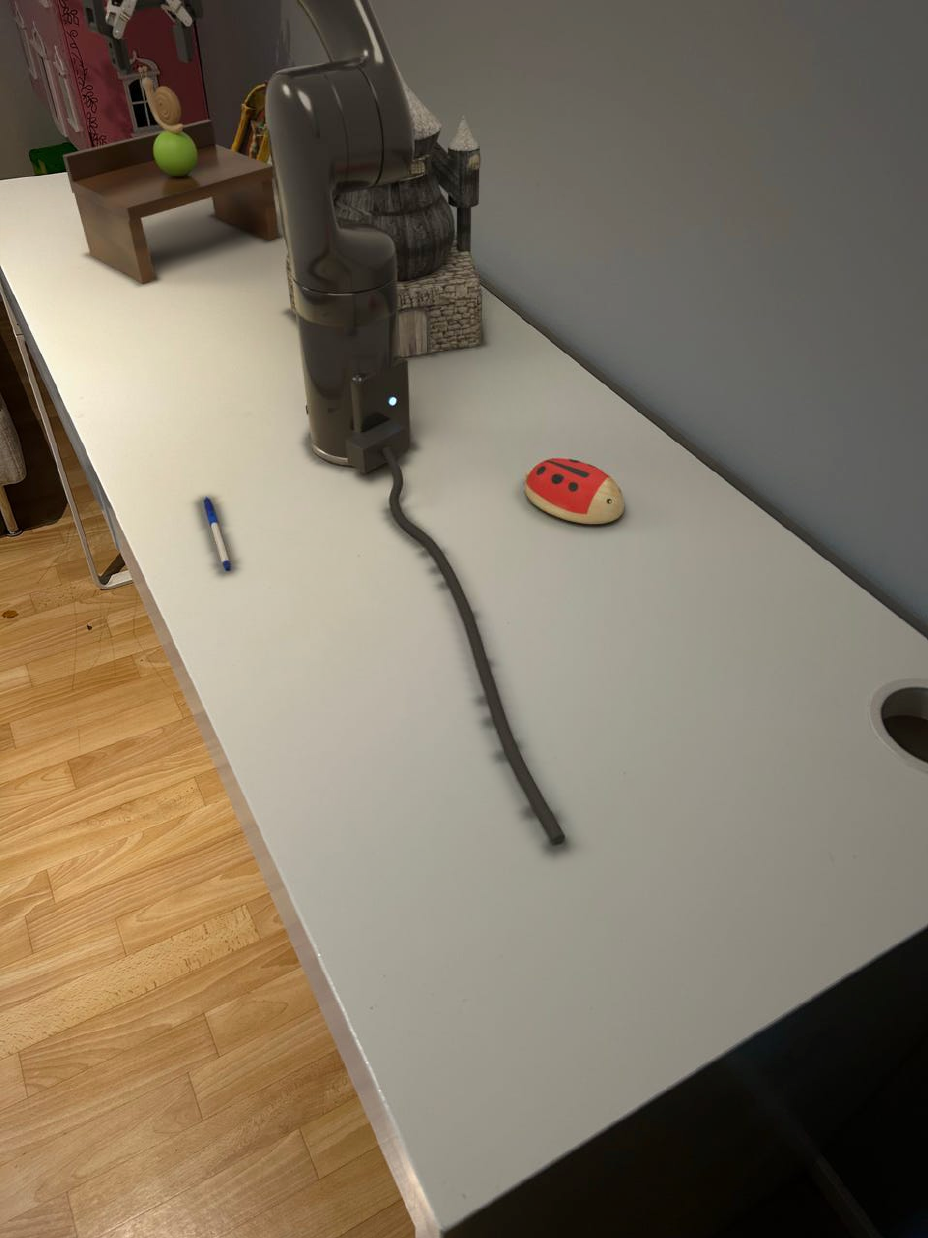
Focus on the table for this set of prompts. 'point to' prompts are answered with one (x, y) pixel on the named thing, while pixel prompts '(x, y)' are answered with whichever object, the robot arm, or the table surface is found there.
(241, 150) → the shrine
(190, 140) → the snail figurine
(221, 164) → the miniature wooden bench
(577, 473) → the ladybug figurine
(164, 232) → the table surface
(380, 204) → the miniature castle
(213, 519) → the ballpoint pen
